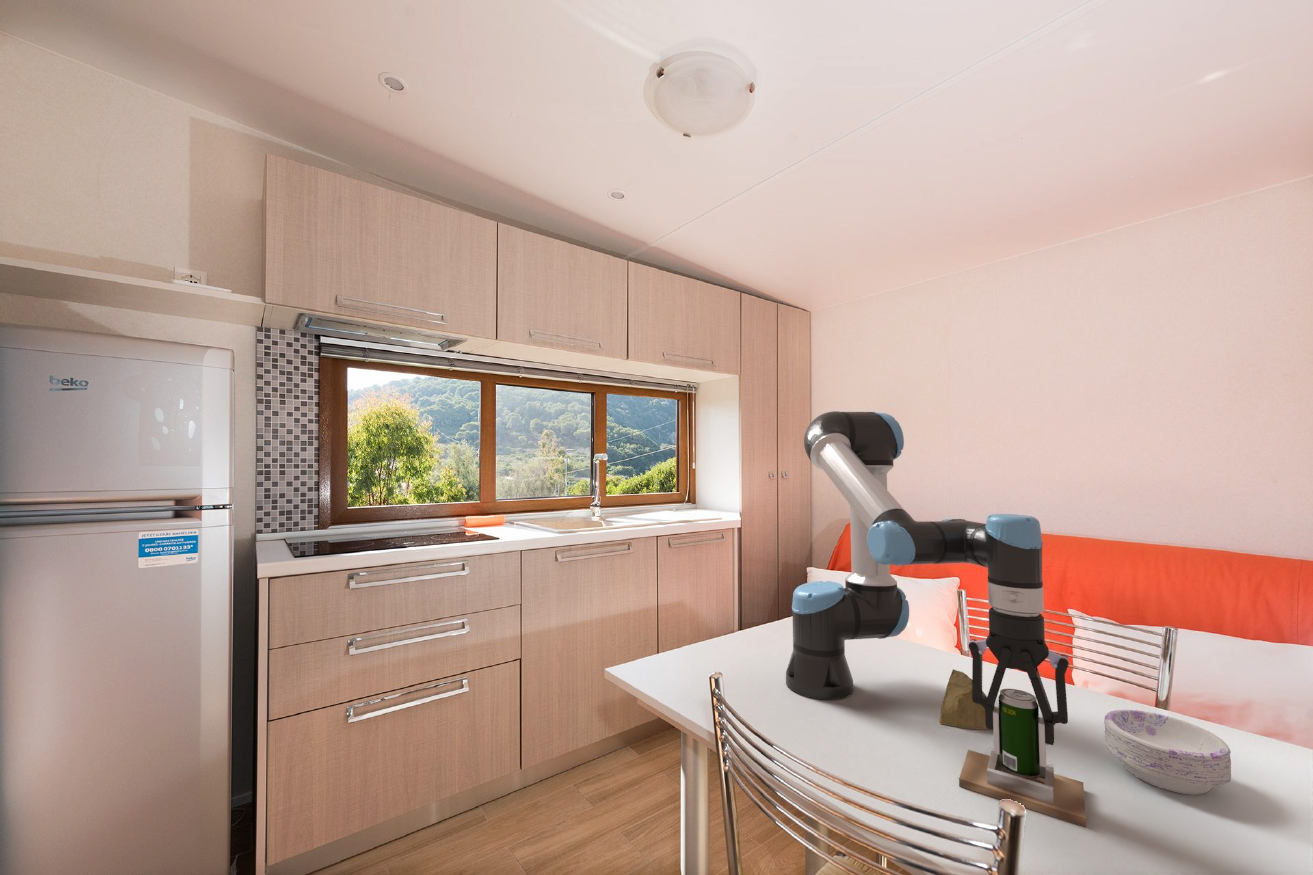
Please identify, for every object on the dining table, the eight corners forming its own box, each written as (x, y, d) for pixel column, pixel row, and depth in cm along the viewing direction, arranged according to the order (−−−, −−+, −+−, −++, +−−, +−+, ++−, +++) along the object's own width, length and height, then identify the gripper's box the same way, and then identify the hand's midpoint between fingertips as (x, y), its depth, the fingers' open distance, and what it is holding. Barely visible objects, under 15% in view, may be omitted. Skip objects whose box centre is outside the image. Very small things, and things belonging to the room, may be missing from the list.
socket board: (959, 786, 86) (958, 765, 86) (968, 756, 95) (967, 737, 95) (1086, 826, 76) (1085, 803, 77) (1083, 789, 85) (1082, 769, 85)
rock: (1012, 713, 107) (959, 689, 114) (1008, 686, 103) (953, 664, 111) (993, 759, 101) (938, 732, 109) (987, 734, 98) (931, 707, 105)
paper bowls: (1203, 818, 79) (1201, 762, 79) (1086, 764, 92) (1084, 717, 93) (1252, 792, 85) (1249, 741, 85) (1135, 746, 99) (1133, 702, 99)
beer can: (1031, 784, 82) (1029, 705, 83) (993, 768, 86) (991, 692, 87) (1046, 773, 85) (1044, 696, 86) (1009, 758, 89) (1007, 685, 90)
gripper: (948, 605, 90) (951, 747, 88) (1088, 626, 79) (1094, 788, 77) (955, 597, 96) (958, 729, 94) (1086, 614, 85) (1092, 765, 83)
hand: (1019, 755), depth 86 cm, fingers closed on beer can, 5 cm apart
